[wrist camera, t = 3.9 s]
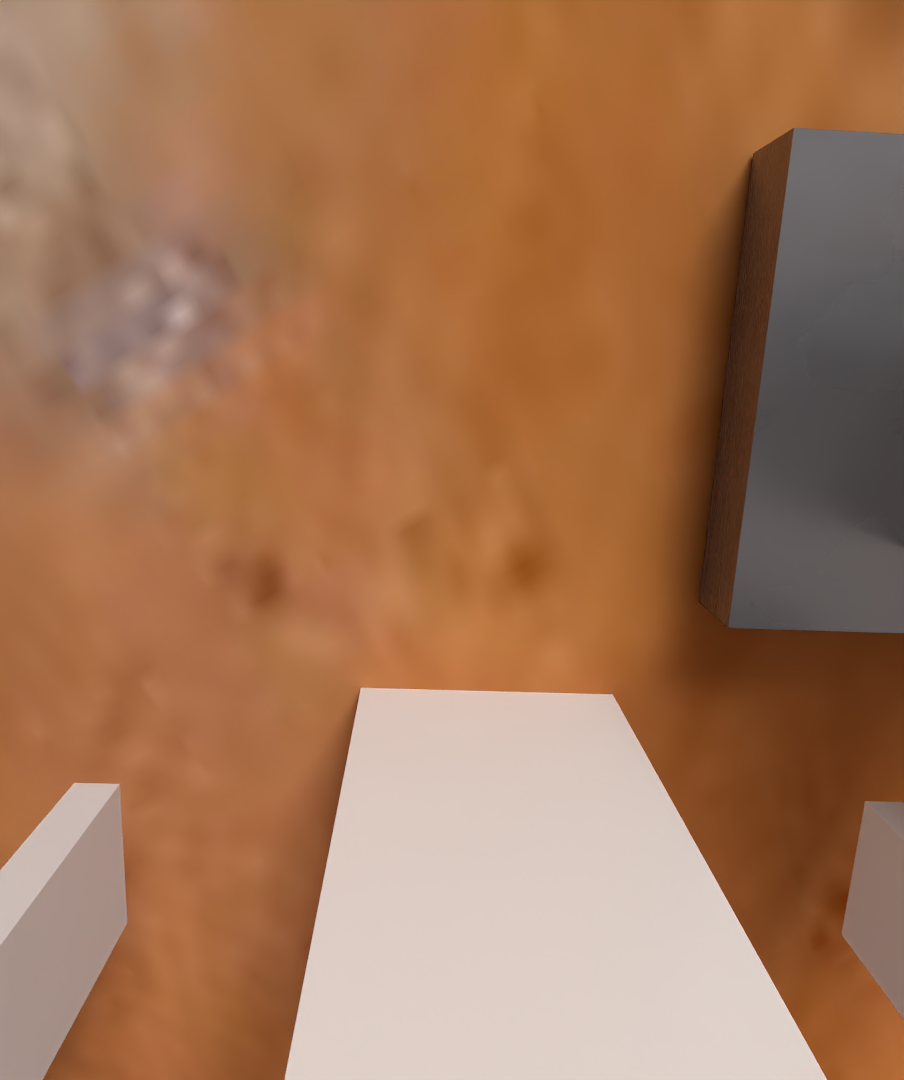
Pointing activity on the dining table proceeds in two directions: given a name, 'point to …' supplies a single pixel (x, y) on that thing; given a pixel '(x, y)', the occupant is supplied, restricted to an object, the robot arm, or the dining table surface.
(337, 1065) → the block
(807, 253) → the rail
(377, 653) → the dining table surface
